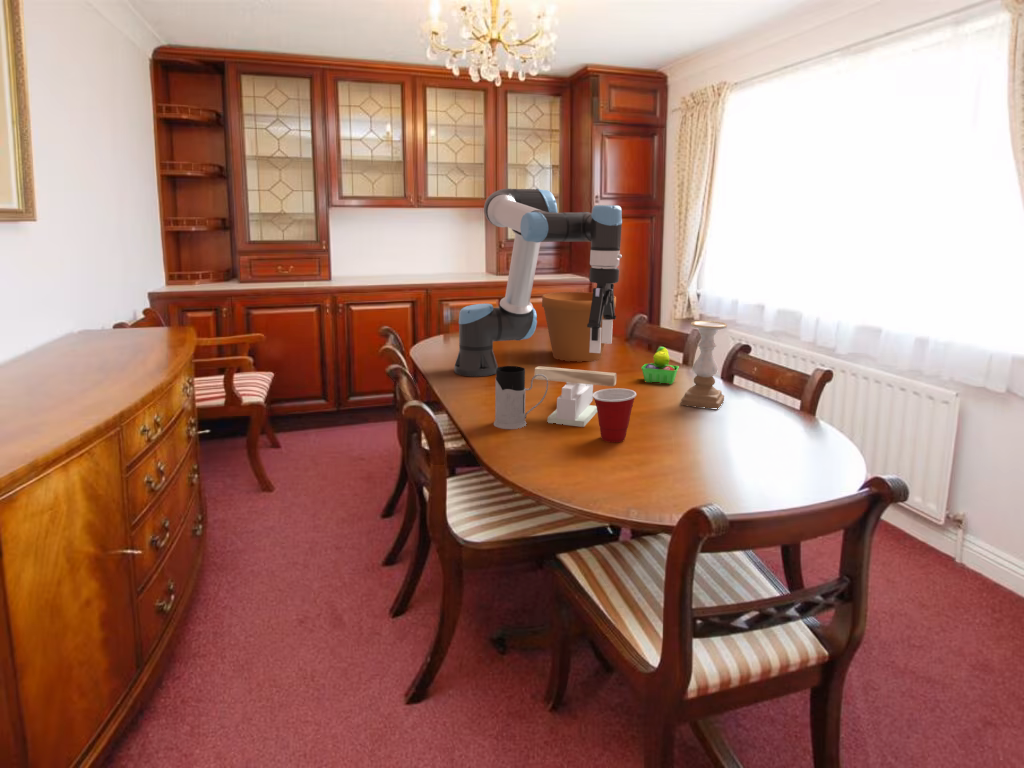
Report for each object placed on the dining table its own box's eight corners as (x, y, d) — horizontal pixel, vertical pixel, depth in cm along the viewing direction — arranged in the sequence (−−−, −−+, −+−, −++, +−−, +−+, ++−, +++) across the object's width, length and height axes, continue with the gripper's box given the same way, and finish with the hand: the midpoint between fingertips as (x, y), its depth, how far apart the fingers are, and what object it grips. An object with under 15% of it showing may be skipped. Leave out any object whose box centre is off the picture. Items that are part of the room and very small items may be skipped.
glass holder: (494, 419, 188) (494, 365, 184) (546, 420, 188) (548, 365, 184) (492, 428, 180) (492, 372, 176) (547, 429, 179) (548, 373, 175)
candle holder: (724, 401, 208) (731, 322, 202) (718, 410, 199) (725, 327, 193) (687, 396, 213) (693, 319, 207) (680, 405, 203) (685, 324, 197)
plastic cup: (586, 432, 177) (588, 387, 174) (628, 431, 178) (630, 386, 175) (594, 446, 167) (596, 398, 164) (639, 445, 168) (641, 397, 165)
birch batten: (538, 376, 193) (538, 366, 193) (615, 384, 186) (616, 373, 185) (534, 379, 191) (534, 368, 190) (613, 386, 183) (614, 375, 183)
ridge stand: (563, 407, 200) (564, 373, 197) (597, 411, 196) (599, 376, 194) (547, 422, 185) (548, 386, 183) (583, 427, 182) (585, 390, 179)
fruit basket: (639, 382, 230) (641, 349, 227) (645, 376, 238) (647, 344, 235) (674, 386, 226) (677, 352, 223) (679, 380, 234) (681, 347, 231)
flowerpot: (536, 362, 258) (537, 299, 252) (545, 348, 285) (546, 291, 279) (612, 366, 254) (615, 302, 248) (614, 351, 281) (616, 293, 275)
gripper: (608, 271, 166) (604, 358, 171) (628, 264, 189) (624, 340, 194) (578, 270, 168) (574, 355, 174) (601, 262, 191) (597, 338, 196)
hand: (600, 348), depth 184 cm, fingers open, 13 cm apart
